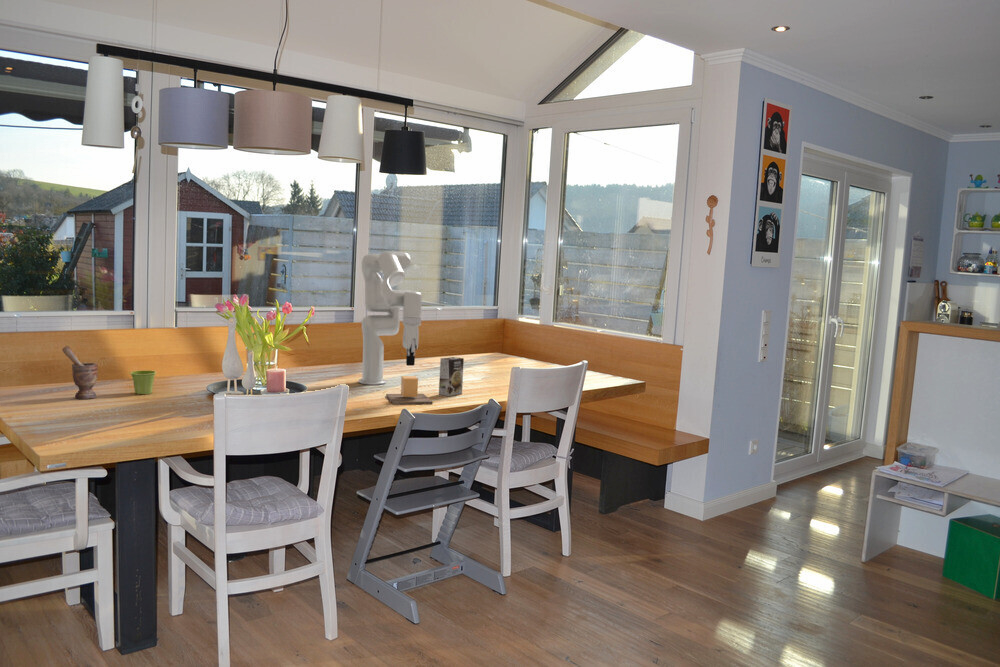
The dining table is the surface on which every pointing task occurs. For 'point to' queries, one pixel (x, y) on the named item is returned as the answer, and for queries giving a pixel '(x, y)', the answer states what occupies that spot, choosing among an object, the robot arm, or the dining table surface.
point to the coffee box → (451, 376)
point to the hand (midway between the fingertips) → (410, 365)
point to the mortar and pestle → (82, 375)
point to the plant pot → (143, 381)
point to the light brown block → (409, 386)
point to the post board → (408, 399)
